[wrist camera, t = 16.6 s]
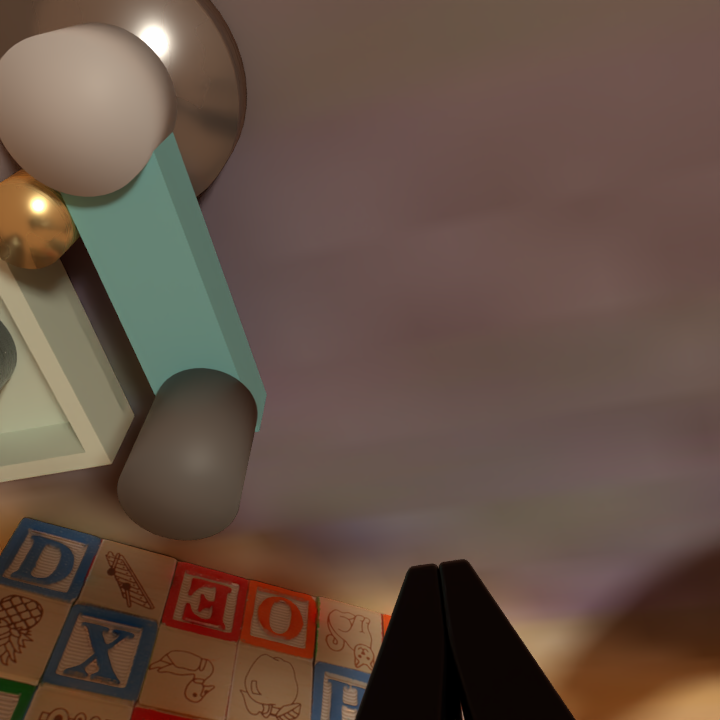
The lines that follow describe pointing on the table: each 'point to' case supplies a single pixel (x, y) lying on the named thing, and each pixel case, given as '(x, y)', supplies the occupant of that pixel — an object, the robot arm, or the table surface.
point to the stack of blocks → (168, 638)
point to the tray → (55, 380)
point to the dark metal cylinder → (6, 355)
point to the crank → (143, 262)
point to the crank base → (193, 93)
